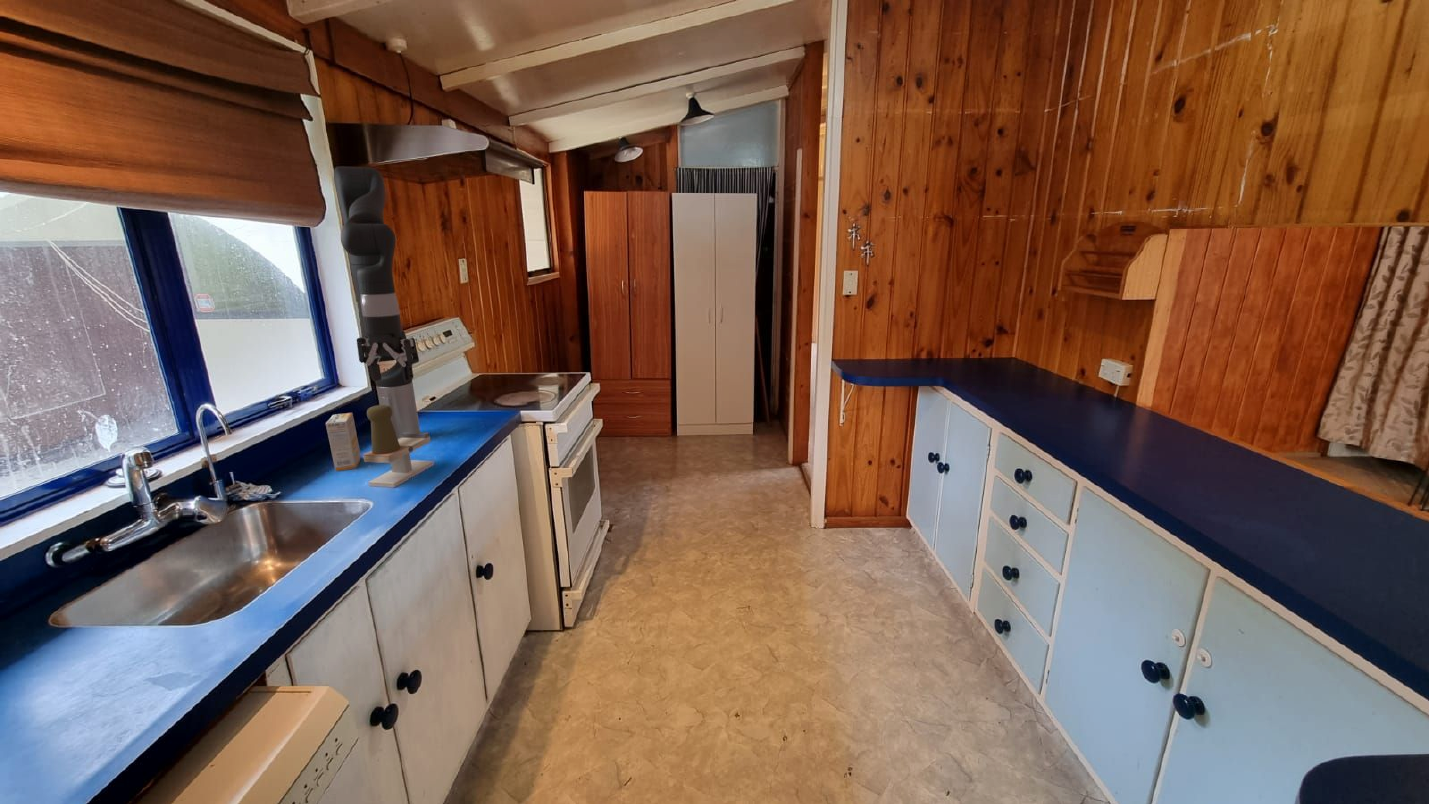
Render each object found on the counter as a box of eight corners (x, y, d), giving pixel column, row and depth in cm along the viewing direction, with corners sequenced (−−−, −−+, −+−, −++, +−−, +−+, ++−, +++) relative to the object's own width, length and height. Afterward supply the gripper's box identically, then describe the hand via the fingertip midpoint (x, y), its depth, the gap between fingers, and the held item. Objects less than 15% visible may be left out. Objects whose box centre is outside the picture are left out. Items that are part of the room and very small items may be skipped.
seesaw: (364, 461, 134) (362, 451, 133) (406, 441, 148) (405, 431, 147) (389, 463, 133) (388, 453, 132) (430, 442, 147) (428, 432, 146)
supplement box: (341, 461, 152) (331, 414, 149) (361, 458, 154) (353, 412, 151) (334, 471, 145) (324, 422, 142) (356, 468, 147) (346, 420, 143)
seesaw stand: (368, 486, 136) (364, 462, 134) (410, 463, 150) (407, 442, 148) (394, 487, 135) (390, 464, 133) (434, 464, 149) (430, 443, 147)
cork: (388, 455, 133) (379, 410, 130) (365, 453, 134) (357, 409, 131) (406, 446, 139) (398, 403, 136) (384, 445, 140) (376, 402, 137)
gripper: (419, 311, 134) (429, 378, 139) (366, 310, 137) (378, 376, 142) (396, 315, 127) (407, 385, 132) (341, 314, 130) (354, 383, 134)
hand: (392, 380), depth 137 cm, fingers open, 8 cm apart
